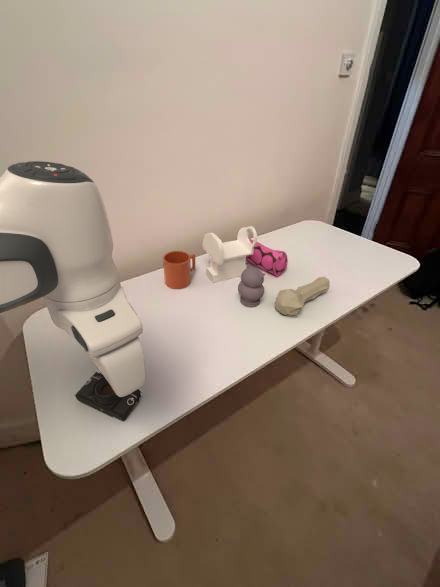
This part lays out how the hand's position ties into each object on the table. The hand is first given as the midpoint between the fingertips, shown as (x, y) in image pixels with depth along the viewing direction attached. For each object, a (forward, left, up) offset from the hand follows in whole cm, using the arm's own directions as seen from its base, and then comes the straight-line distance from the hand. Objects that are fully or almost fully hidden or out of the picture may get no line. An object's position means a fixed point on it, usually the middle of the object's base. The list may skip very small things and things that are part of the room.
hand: (105, 369), depth 47 cm
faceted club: (+64, +2, -21) cm, 68 cm away
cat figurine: (+51, +14, -21) cm, 57 cm away
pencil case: (+70, +27, -21) cm, 78 cm away
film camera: (+2, +10, -21) cm, 24 cm away
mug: (+42, +37, -21) cm, 60 cm away
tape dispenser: (+56, +29, -21) cm, 67 cm away
